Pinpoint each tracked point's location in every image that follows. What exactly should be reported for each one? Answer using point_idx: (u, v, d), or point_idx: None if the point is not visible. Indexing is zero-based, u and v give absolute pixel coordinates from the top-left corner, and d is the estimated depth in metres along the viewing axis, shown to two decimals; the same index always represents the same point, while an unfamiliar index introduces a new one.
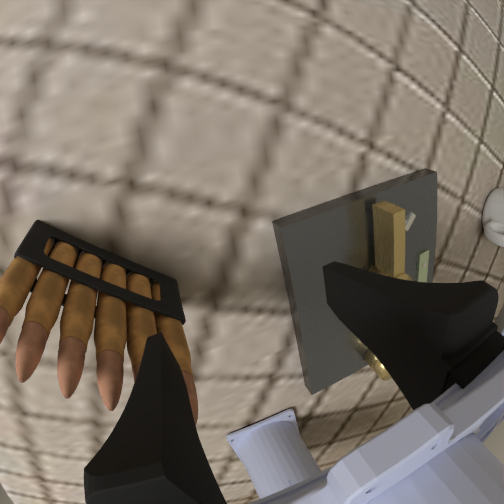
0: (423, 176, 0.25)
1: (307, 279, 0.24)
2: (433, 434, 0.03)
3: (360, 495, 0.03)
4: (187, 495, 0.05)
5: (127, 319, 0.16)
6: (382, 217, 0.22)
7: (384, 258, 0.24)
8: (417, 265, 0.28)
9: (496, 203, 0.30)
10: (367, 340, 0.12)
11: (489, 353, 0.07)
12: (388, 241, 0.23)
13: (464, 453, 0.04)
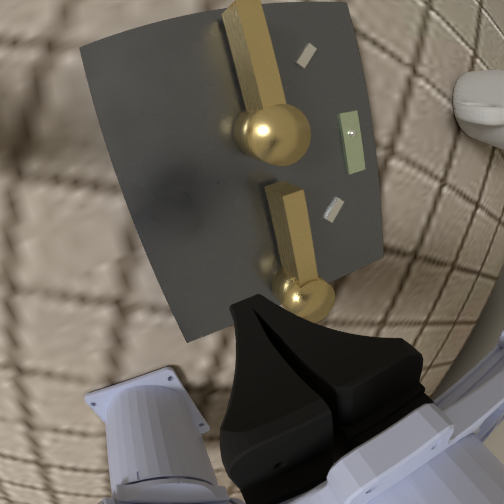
0: (321, 2, 0.15)
1: (124, 121, 0.14)
2: (433, 434, 0.03)
3: (360, 495, 0.03)
4: (332, 436, 0.06)
5: None
6: (230, 19, 0.13)
7: (247, 81, 0.14)
8: (341, 133, 0.19)
9: (467, 82, 0.20)
10: None
11: None
12: (242, 48, 0.13)
13: (464, 453, 0.04)
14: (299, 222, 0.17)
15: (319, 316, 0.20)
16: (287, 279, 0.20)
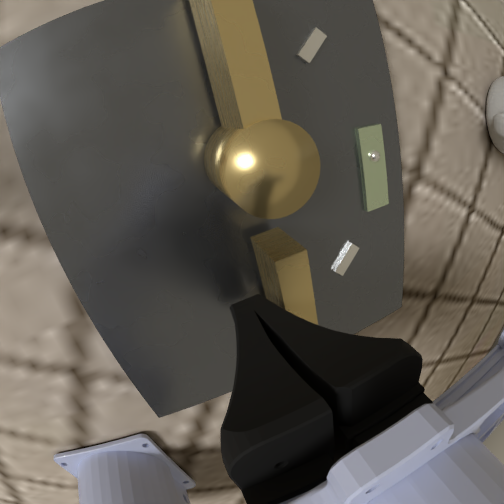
0: None
1: (48, 151, 0.09)
2: (433, 434, 0.03)
3: (360, 495, 0.03)
4: (333, 435, 0.06)
5: None
6: None
7: (221, 83, 0.09)
8: (359, 156, 0.14)
9: None
10: None
11: None
12: (212, 31, 0.08)
13: (464, 453, 0.04)
14: (299, 294, 0.12)
15: None
16: None
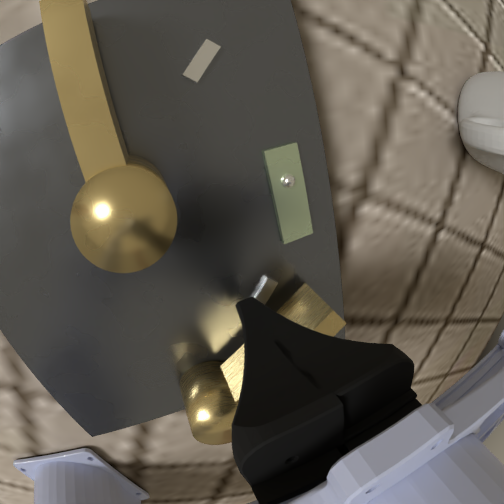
0: None
1: None
2: (433, 434, 0.03)
3: (360, 495, 0.03)
4: (343, 430, 0.06)
5: None
6: None
7: None
8: (269, 182, 0.12)
9: (479, 88, 0.14)
10: None
11: None
12: None
13: (464, 453, 0.04)
14: None
15: (212, 440, 0.13)
16: (222, 379, 0.14)
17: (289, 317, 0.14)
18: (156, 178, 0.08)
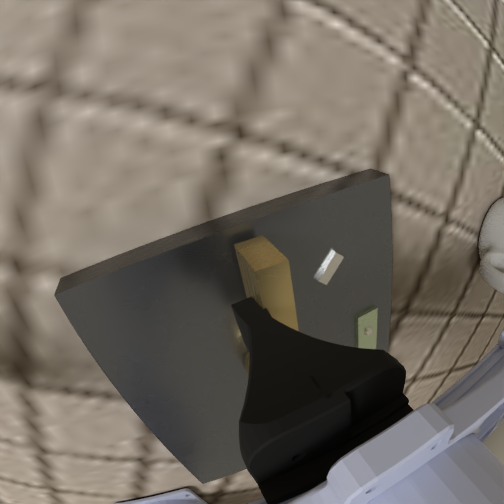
0: (358, 184, 0.14)
1: (128, 367, 0.14)
2: (433, 434, 0.03)
3: (360, 495, 0.03)
4: (349, 426, 0.06)
5: None
6: (246, 272, 0.12)
7: None
8: (356, 332, 0.18)
9: (500, 222, 0.19)
10: None
11: None
12: None
13: (464, 453, 0.04)
14: None
15: None
16: None
17: None
18: None
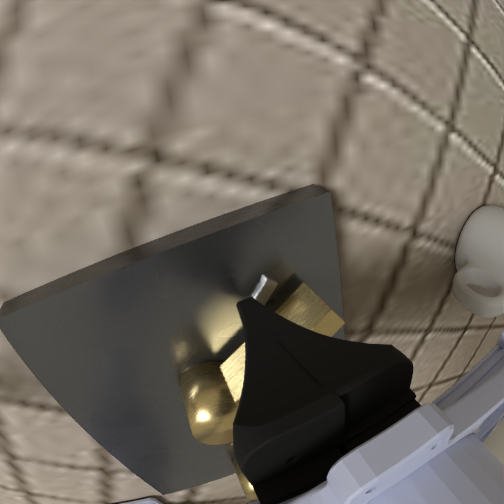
0: (291, 204, 0.13)
1: (68, 387, 0.13)
2: (433, 434, 0.03)
3: (360, 495, 0.03)
4: (344, 430, 0.06)
5: None
6: (304, 306, 0.13)
7: None
8: None
9: (479, 234, 0.18)
10: None
11: None
12: None
13: (464, 453, 0.04)
14: None
15: (256, 497, 0.18)
16: None
17: None
18: None
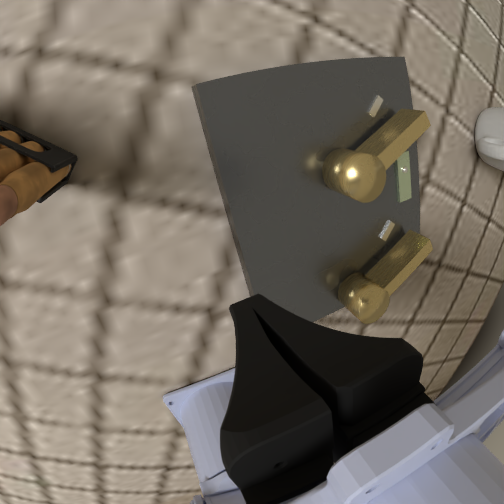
0: (386, 57, 0.19)
1: (238, 156, 0.18)
2: (433, 434, 0.03)
3: (360, 495, 0.03)
4: (333, 436, 0.06)
5: None
6: (407, 114, 0.19)
7: (379, 141, 0.19)
8: (396, 169, 0.23)
9: (488, 119, 0.24)
10: None
11: None
12: (399, 128, 0.19)
13: (464, 453, 0.04)
14: (419, 258, 0.23)
15: (365, 319, 0.23)
16: (370, 280, 0.24)
17: (405, 245, 0.24)
18: (383, 186, 0.19)
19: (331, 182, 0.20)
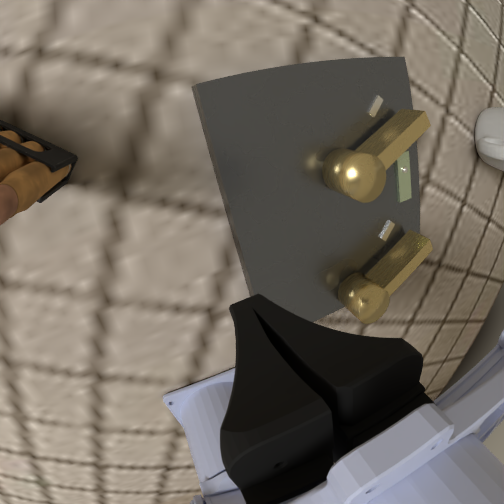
0: (386, 57, 0.19)
1: (238, 156, 0.18)
2: (433, 434, 0.03)
3: (360, 495, 0.03)
4: (333, 436, 0.06)
5: None
6: (407, 114, 0.19)
7: (379, 141, 0.19)
8: (396, 169, 0.23)
9: (488, 119, 0.24)
10: None
11: None
12: (399, 128, 0.19)
13: (464, 453, 0.04)
14: (419, 258, 0.23)
15: (365, 319, 0.23)
16: (370, 280, 0.24)
17: (405, 245, 0.24)
18: (383, 186, 0.19)
19: (331, 182, 0.20)
